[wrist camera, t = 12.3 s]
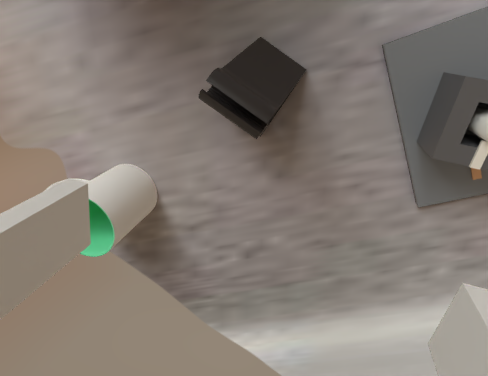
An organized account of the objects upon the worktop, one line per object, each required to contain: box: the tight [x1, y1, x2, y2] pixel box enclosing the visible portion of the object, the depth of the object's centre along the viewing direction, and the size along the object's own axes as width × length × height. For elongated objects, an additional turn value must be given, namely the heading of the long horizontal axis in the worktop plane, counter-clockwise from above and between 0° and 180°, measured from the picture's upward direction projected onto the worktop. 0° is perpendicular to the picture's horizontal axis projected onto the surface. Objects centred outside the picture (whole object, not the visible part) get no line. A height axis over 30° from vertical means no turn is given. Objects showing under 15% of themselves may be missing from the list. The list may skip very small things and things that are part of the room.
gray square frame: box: [417, 72, 488, 170], centre depth 30 cm, size 7×7×6 cm
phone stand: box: [199, 37, 306, 139], centre depth 32 cm, size 9×6×12 cm, turn 147°
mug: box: [46, 164, 158, 257], centre depth 43 cm, size 12×8×10 cm
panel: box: [382, 7, 488, 207], centre depth 30 cm, size 18×12×8 cm, turn 21°
